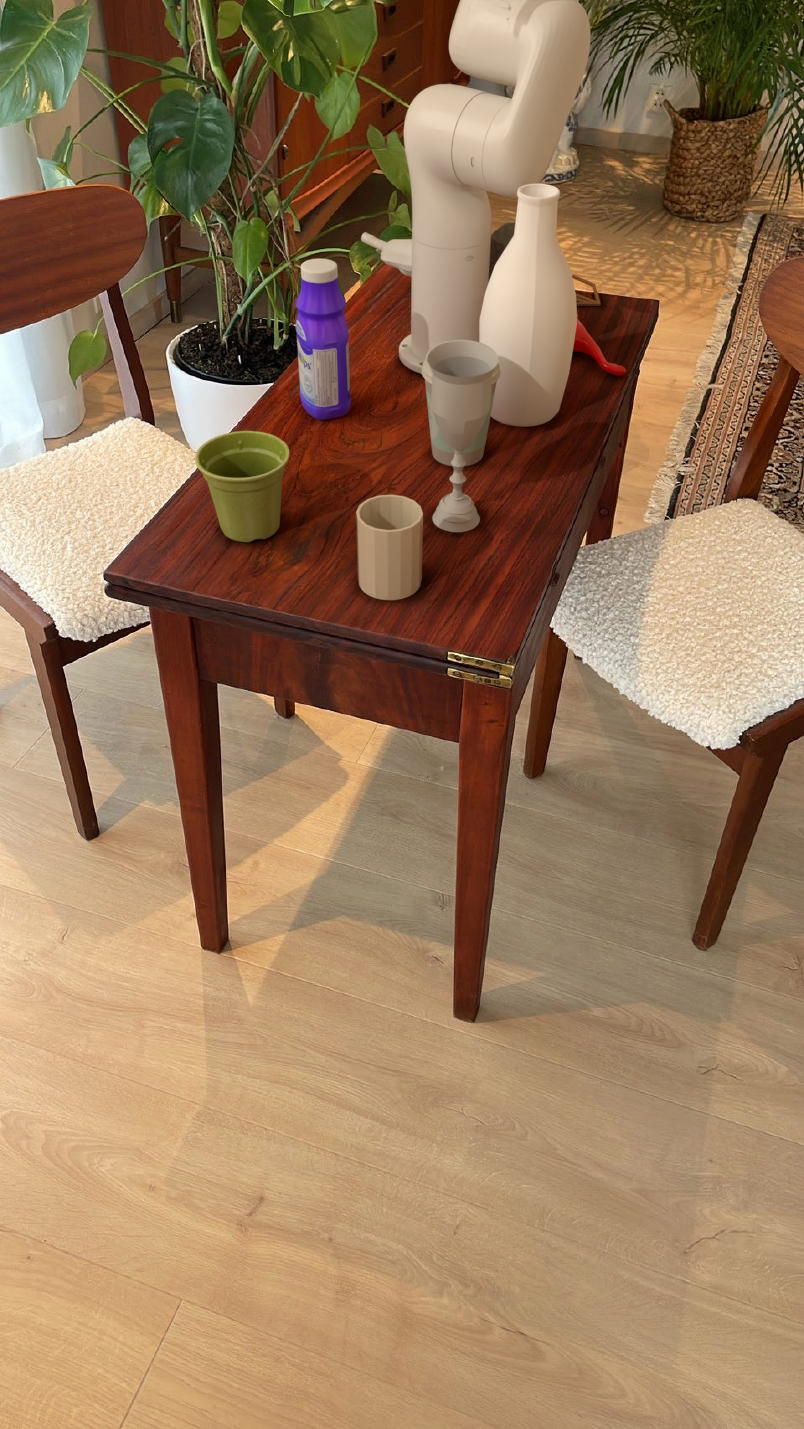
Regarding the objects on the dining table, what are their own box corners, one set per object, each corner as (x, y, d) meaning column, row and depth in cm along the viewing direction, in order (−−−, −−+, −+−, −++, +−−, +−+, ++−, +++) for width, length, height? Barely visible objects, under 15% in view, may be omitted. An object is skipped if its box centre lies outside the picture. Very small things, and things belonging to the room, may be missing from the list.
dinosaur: (508, 296, 151) (512, 342, 142) (619, 313, 152) (631, 360, 144) (501, 324, 154) (505, 370, 145) (611, 341, 155) (622, 388, 146)
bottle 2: (584, 404, 140) (611, 186, 123) (536, 442, 134) (556, 218, 117) (507, 378, 145) (522, 165, 128) (457, 414, 139) (465, 194, 121)
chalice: (482, 541, 119) (492, 380, 107) (418, 534, 120) (420, 373, 108) (492, 503, 125) (503, 345, 112) (430, 496, 126) (434, 338, 113)
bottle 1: (294, 399, 141) (284, 256, 129) (338, 391, 143) (333, 249, 131) (312, 427, 136) (304, 281, 124) (357, 418, 138) (354, 274, 126)
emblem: (511, 290, 164) (511, 285, 164) (557, 270, 170) (557, 266, 169) (577, 317, 158) (577, 312, 158) (622, 295, 163) (623, 290, 163)
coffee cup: (443, 427, 136) (446, 330, 128) (508, 447, 133) (515, 349, 125) (406, 460, 131) (406, 361, 123) (472, 481, 128) (478, 381, 120)
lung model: (544, 274, 161) (403, 236, 173) (485, 234, 146) (336, 196, 158) (527, 321, 162) (388, 281, 174) (467, 286, 148) (321, 245, 160)
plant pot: (187, 540, 119) (176, 466, 114) (233, 494, 126) (225, 422, 120) (267, 562, 117) (260, 487, 111) (310, 514, 123) (305, 441, 117)
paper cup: (383, 555, 118) (383, 487, 112) (433, 577, 115) (435, 509, 109) (345, 585, 114) (343, 516, 108) (396, 608, 111) (396, 539, 106)
